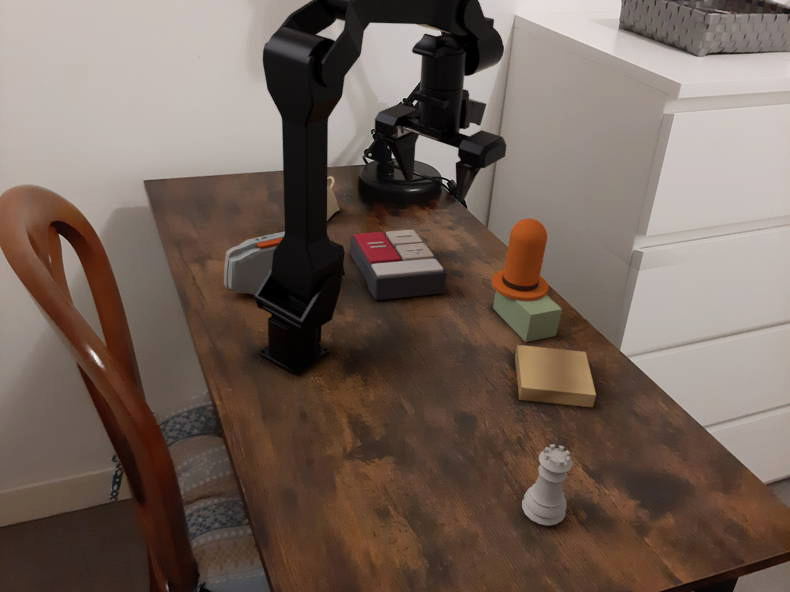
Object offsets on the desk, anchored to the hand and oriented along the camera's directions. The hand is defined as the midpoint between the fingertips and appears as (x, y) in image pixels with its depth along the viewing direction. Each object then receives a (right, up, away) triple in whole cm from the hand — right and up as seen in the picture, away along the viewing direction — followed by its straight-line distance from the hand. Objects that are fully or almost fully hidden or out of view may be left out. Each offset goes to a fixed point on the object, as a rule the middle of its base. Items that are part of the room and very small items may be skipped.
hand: (434, 190), depth 108 cm
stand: (+14, -26, -13) cm, 32 cm away
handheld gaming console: (-23, -14, +2) cm, 27 cm away
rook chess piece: (+9, -37, -31) cm, 50 cm away
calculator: (-6, -12, +8) cm, 15 cm away
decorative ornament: (-18, +1, +23) cm, 29 cm away
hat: (+12, -14, -2) cm, 18 cm away
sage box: (+13, -19, -1) cm, 23 cm away
